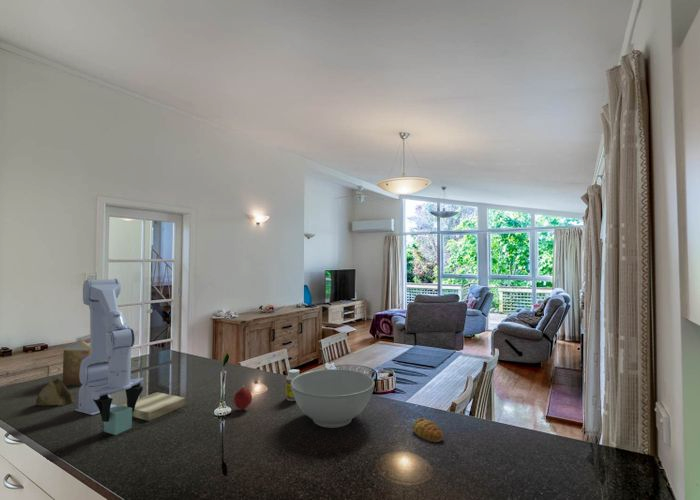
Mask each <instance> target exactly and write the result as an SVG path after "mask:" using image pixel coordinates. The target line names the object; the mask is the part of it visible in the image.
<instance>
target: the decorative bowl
mask: <svg viewBox="0 0 700 500" xmlns="http://www.w3.org/2000/svg"><path fill="white" fill-rule="evenodd" d="M375 383H376V382H375V380H374V379H373V377H372V376H370V375H368V374H366V373H363V372H359V371H355V370H352V369H351V370H350V369H339V368H337V369H336V368H334V369H333V368H332V369H331V368H329V369H327V368H326V369H317V370H312V371H307V372H303V373H301V374H299V375H298V376H296V377H295V378H294V379H293V380H292V381H291V390H292V393H293V396H294V398H295V400H296V401H295V402H296V404H297V406H298V407H299V408H300V410H301V411H302V413H304V414H305V415H306V416H307V417H309V419H312V420H313V423H314V424H316V425H317V426H319V427H322V428H332V429H333V428H340V427H344V426H347V425H349V424H350V423H352V419H355V417H357V416H358V415H359V414H361V412H362V411H364V409H365V408H366V406H367V405H368V404H369V401H370V400H371V398H372V395H373V392H374V389H375Z"/></svg>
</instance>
